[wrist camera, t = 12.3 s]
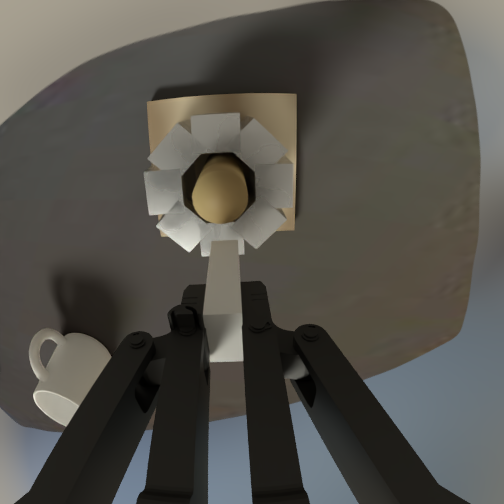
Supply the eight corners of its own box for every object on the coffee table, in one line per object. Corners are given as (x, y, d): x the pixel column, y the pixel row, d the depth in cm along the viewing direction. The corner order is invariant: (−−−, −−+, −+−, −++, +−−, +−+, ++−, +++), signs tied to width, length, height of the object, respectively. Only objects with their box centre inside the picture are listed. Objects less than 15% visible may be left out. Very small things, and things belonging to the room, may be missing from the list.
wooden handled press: (163, 231, 27) (135, 294, 18) (150, 102, 22) (103, 101, 13) (291, 224, 28) (320, 285, 19) (293, 94, 23) (332, 87, 13)
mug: (34, 316, 31) (0, 370, 22) (72, 300, 30) (36, 362, 21) (85, 375, 37) (66, 431, 28) (126, 367, 36) (109, 430, 27)
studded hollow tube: (173, 220, 26) (156, 258, 20) (163, 117, 22) (138, 121, 15) (276, 215, 26) (291, 252, 20) (276, 111, 22) (294, 112, 16)
